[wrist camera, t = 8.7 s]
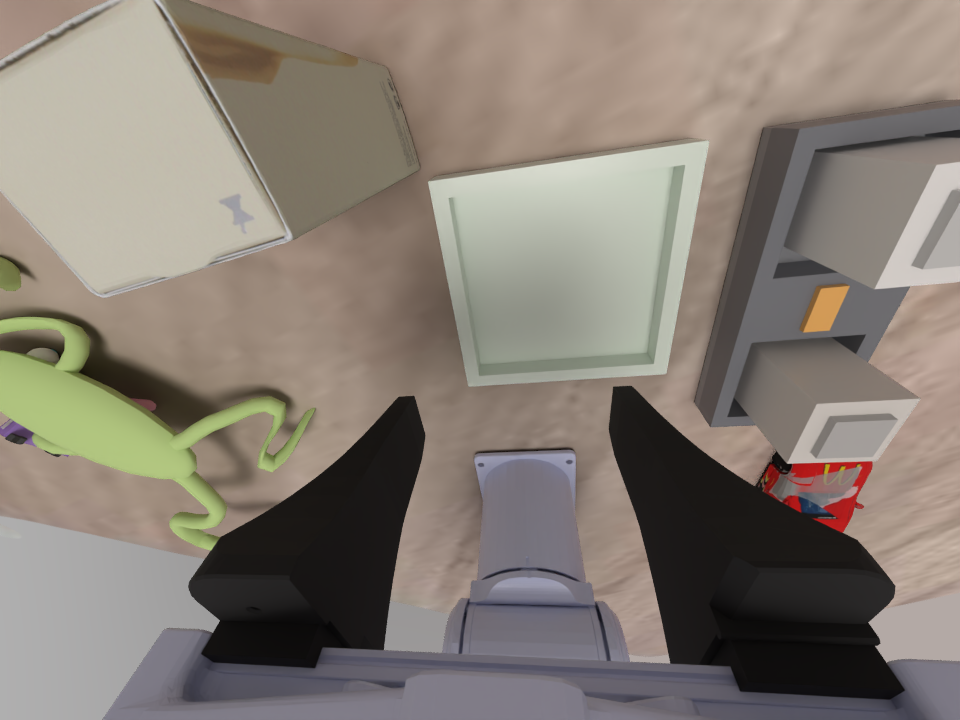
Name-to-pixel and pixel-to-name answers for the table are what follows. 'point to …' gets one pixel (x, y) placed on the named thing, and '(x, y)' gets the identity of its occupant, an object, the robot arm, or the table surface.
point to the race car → (818, 488)
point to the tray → (569, 261)
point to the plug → (883, 211)
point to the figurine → (114, 419)
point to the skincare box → (187, 139)
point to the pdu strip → (799, 256)
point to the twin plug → (821, 401)
